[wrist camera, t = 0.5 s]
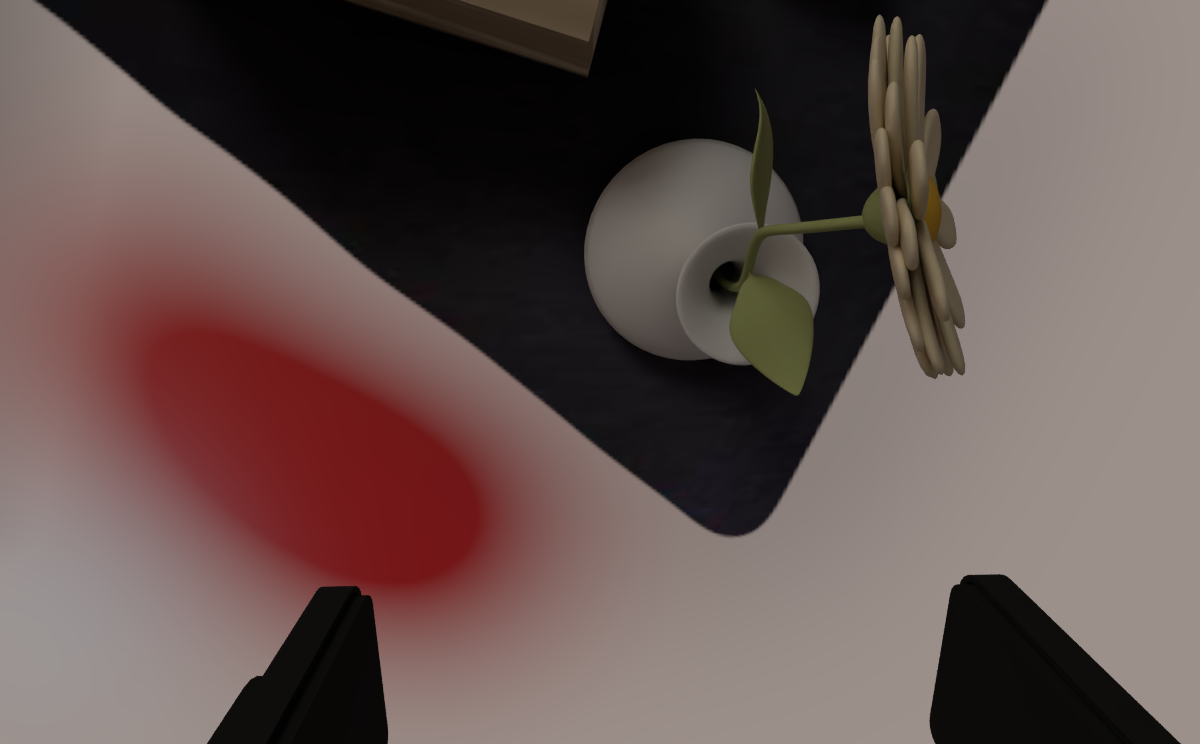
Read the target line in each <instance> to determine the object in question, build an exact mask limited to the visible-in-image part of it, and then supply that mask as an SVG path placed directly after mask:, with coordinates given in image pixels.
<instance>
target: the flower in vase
mask: <svg viewBox="0 0 1200 744" xmlns="http://www.w3.org/2000/svg"><path fill="white" fill-rule="evenodd" d="M925 83H926V52H925V44H924V40H923V37H922V35H920V34H918V35H917V36H916V38H915V37H914V36H910V37H909V38H908V41H907V44H906V49H905V56H904V75H903V34H902V24H901V20H900V18H899V17H898V16H897V17H896V18H894V20H893V23H892V25H891V30H890V35H888V36H887V37H886V31H885V24H884V20H883V17H882V16H881V15H878V17H877V18H876V21H875V24H874V28H873V37H872V47H871V53H870V65H869V77H868V106H869V120H870V130H871V137H872V144H873V149H874V157H875V168H876V178H877V185H878V188H877V189H876V190H875V191H874V192H873V193H872V194H871V195H870V197H869V198H868V200H867V201H866V203H865V206H864V209H863V212H862V216H854V217H845V218H836V219H827V220H818V221H809V222H801V220H800V216H799V213H798V209H797V207H796V204H795V202H794V200H793V197H792V195H791V193H790V192H789V190H788V188H787V187H786V185H785V184H784V182H783V181H782V180H781V178H780V177H779V176H778V175H777V173H776V172H775V171H774V170H773V169H772V165H773V139H772V129H771V125H770V121H769V117H768V114H767V111H766V108H765V106H764V104H763V102H762V100H761V98H760V96H759V94H758V92H757V91H756V89H755V91H756V94H757V98H758V102H759V109H760V120H759V127H758V133H757V138H756V143H755V147H754V152H753V153H751V152H749V151H747V150H745V149H743V148H741V147H739V146H736V145H733V144H730V143H727V142H723V141H717V140H712V139H687V140H679V141H674V142H670V143H666V144H663V145H661V146H658V147H656V148H653V149H651V150H649V151H647V152H645V153H643V154H642V155H640V156H638V157H637V158H635V159H634V160H633V161H631V162H630V163H629V164H627V165H626V166H625V167H624V168H623V169H622V170H621V171H620V172H618V173H617V174H616V175H615V176H614V178H613V179H612V180H611V181H610V183H609V184H608V185H607V186H606V188H605V189H604V191H603V192H602V194H601V196H600V197H599V199H598V201H597V203H596V205H595V207H594V210H593V212H592V214H591V217H590V220H589V224H588V227H587V232H586V238H585V247H584V261H585V271H586V276H587V280H588V285H589V288H590V291H591V293H592V296H593V298H594V301H595V303H596V304H597V306H598V308H599V310H600V312H601V313H602V315H603V316H604V317H605V319H606V320H607V321H608V323H609V324H610V325H611V326H612V327H613V328H614V329H615V330H616V331H617V332H618V333H619V334H620V335H621V336H623V337H624V338H625V339H626V340H628V341H629V342H630V343H632V344H634V345H635V346H637V347H639V348H640V349H642V350H645V351H647V352H649V353H652V354H654V355H658V356H661V357H665V358H670V359H676V360H702V359H709V358H713V359H715V360H718V361H720V362H724V363H727V364H733V365H753V366H754V367H755V368H756V369H757V370H759V371H760V372H761V373H762V374H763V375H765V376H766V377H767V378H769V379H770V380H771V381H773V382H774V383H776V384H777V385H778V386H780V387H782V388H783V389H785V390H786V391H788V392H790V393H792V394H794V395H796V396H797V395H799V393H800V391H801V389H802V387H803V384H804V381H805V378H806V375H807V372H808V368H809V364H810V359H811V354H812V347H813V335H814V325H813V318H814V316H815V313H816V310H817V306H818V302H819V294H820V283H819V276H818V272H817V268H816V265H815V263H814V261H813V258H812V257H811V255H810V253H809V252H808V250H807V249H806V248H805V246H804V245H803V233H814V232H825V231H836V230H847V229H858V228H865V229H866V231H867V232H868V233H869V234H870V235H871V236H872V237H873V238H874V239H876V240H878V241H880V242H882V243H884V244H887V245H888V251H889V258H890V263H891V269H892V274H893V278H894V283H895V287H896V290H897V294H898V298H899V303H900V307H901V311H902V315H903V318H904V321H905V325H906V328H907V331H908V333H909V336H910V340H911V342H912V346H913V349H914V352H915V355H916V357H917V360H918V361H919V364H920V366H921V368H922V370H923V371H924V372H925V374H926V375H927V376H929V377H932V378H934V379H936V378H937V376H938V374H941V375H942V374H943V373H945V375H947V376H951V375H952V373H953V367H954V369H955V370H956V371H957V373H958V374H960V375H963V374H964V373H965V362H964V357H963V353H962V350H961V346H960V342H959V339H958V336H957V332H956V329H955V326H954V324H955V325H956V326H957V327H958V328H961V329H962V328H963V327H964V326H965V315H964V309H963V305H962V301H961V298H960V295H959V292H958V290H957V287H956V285H955V282H954V280H953V277H952V275H951V272H950V270H949V267H948V265H947V263H946V260H945V258H944V255H943V253H942V251H941V248H940V246H941V247H942V248H945V249H950V248H952V247H954V245H955V244H956V228H955V223H954V218H953V215H952V213H951V211H950V209H949V207H948V206H947V205H946V204H945V203H944V202H943V201H942V200H941V199H940V196H939V193H938V190H937V183H936V178H935V171H936V167H937V163H938V158H939V153H940V145H941V126H940V120H939V115H938V112H937V111H936V110H935V109H932V110H930V111H929V112H928V113H927V115H926V116H925V119H924V108H925ZM939 245H940V246H939Z"/></svg>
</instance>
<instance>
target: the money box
mask: <svg viewBox="0 0 1200 744" xmlns="http://www.w3.org/2000/svg"><path fill="white" fill-rule="evenodd" d="M341 1H344V2H347V3H350V4H354V5H357V6H360V7H363V8H366V9H369V10H373V11H376V12H379V13H382V14H385V15H389V16H392V17H395V18H398V19H401V20H405V21H408V22H411V23H414V24H417V25H421V26H424V27H427V28H430V29H433V30H436V31H440V32H443V33H446V34H449V35H452V36H456V37H459V38H462V39H465V40H468V41H472V42H475V43H478V44H481V45H484V46H487V47H491V48H494V49H497V50H500V51H503V52H507V53H510V54H513V55H516V56H519V57H523V58H526V59H529V60H532V61H535V62H539V63H542V64H545V65H548V66H551V67H554V68H558V69H561V70H564V71H567V72H570V73H574V74H577V75H580V76H583V77H586V78H588V74H589V70H590V67H591V63H592V59H593V55H594V51H595V47H596V44H597V40H598V36H599V32H600V28H601V24H602V21H603V17H604V13H605V9H606V5H607V1H608V0H341Z"/></svg>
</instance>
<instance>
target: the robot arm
mask: <svg viewBox="0 0 1200 744" xmlns="http://www.w3.org/2000/svg"><path fill="white" fill-rule="evenodd" d="M930 729H931V734H932V737H933V739H934V742H935V744H1180V743H1179V742H1178V741H1177V740H1176V739H1175V738H1174V737H1173V736H1172V735H1171V734H1170V733H1169V732H1168V731H1167V730H1166V729H1165V728H1164V727H1163V726H1162V725H1161V724H1160V723H1159V722H1158V721H1156V720H1155V718H1154V717H1153V716H1151V715H1150V714H1149V713H1148V712H1147V711H1146V710H1145V709H1144V708H1143V707H1142V706H1141V705H1140V704H1139V703H1138V702H1137V701H1136V700H1135V699H1134V698H1133V697H1132V696H1131V695H1130V694H1129V693H1127V691H1126V690H1124V688H1122V687H1121V686H1120V685H1119V684H1118V683H1117V682H1116V681H1115V680H1114V679H1113V678H1112V677H1111V676H1110V675H1109V674H1108V673H1107V672H1106V671H1105V670H1104V669H1103V668H1102V667H1101V666H1100V665H1099V664H1098V663H1097V662H1095V660H1093V659H1092V658H1091V657H1090V656H1089V655H1088V654H1087V653H1086V652H1085V651H1084V650H1083V649H1082V648H1081V647H1080V646H1079V645H1078V644H1077V643H1076V642H1075V641H1074V640H1073V639H1072V638H1071V637H1070V636H1069V635H1067V633H1065V631H1064V630H1062V629H1061V628H1060V627H1059V626H1058V625H1057V624H1056V623H1055V622H1054V621H1053V620H1052V619H1051V618H1050V617H1049V616H1048V615H1047V614H1046V613H1045V612H1044V611H1043V610H1042V609H1041V608H1040V607H1039V606H1038V605H1037V604H1036V603H1035V602H1033V600H1031V599H1030V598H1029V597H1028V596H1027V595H1026V594H1025V593H1024V592H1023V591H1022V590H1021V589H1020V588H1019V587H1018V586H1017V585H1016V584H1015V583H1014V582H1013V581H1012V580H1011V579H1010V578H1008V577H1007V576H1005V575H1000V574H997V575H967V576H965V577H963V579H962V580H961V582H960V584H957V585H955V586H953V588H952V589H951V593H950V598H949V604H948V610H947V617H946V622H945V628H944V634H943V640H942V646H941V653H940V658H939V664H938V670H937V677H936V683H935V689H934V695H933V701H932V707H931V713H930ZM387 743H388V725H387V717H386V709H385V701H384V693H383V684H382V676H381V667H380V659H379V652H378V642H377V635H376V626H375V618H374V609H373V602H372V599H371V596H369V595H361V591H360V589H359V588H358V587H357V586H340V587H339V586H335V587H321V588H319V589H318V590H317V591H316V593H315V594H314V596H313V598H312V599H311V601H310V602H309V604H308V606H307V607H306V609H305V610H304V612H303V613H302V615H301V617H300V618H299V620H298V621H297V623H296V624H295V626H294V628H293V629H292V631H291V632H290V634H289V635H288V637H287V639H286V640H285V642H284V644H283V645H282V646H281V648H280V650H279V651H278V653H277V654H276V656H275V657H274V659H273V661H272V662H271V664H270V665H269V667H268V669H267V670H266V672H265V673H264V675H263V676H256V677H255V678H253V679H251V680H250V681H249V682H248V683H247V685H246V686H245V687H244V688H243V690H242V691H241V693H240V694H239V696H238V697H237V699H236V700H235V702H234V704H233V705H232V707H231V708H230V709H229V711H228V712H227V714H226V715H225V717H224V719H223V720H222V722H221V723H220V725H219V726H218V728H217V729H216V731H215V732H214V734H213V735H212V737H211V739H210V740H209V741H208V743H207V744H387Z"/></svg>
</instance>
